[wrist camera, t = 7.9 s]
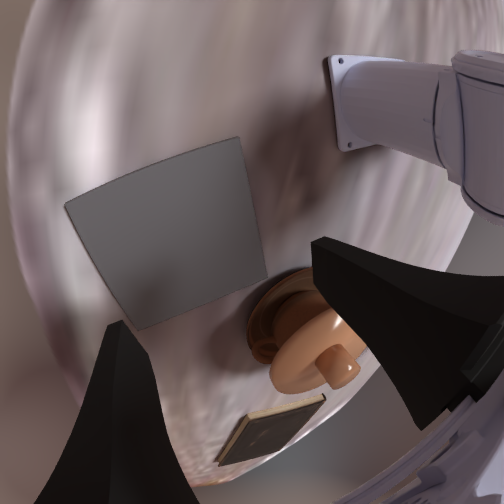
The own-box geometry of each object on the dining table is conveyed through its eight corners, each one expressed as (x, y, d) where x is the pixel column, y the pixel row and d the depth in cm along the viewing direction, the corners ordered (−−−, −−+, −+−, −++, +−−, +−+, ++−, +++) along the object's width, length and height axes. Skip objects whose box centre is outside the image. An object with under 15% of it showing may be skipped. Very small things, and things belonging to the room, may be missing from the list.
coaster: (237, 136, 17) (239, 137, 17) (265, 274, 24) (267, 277, 24) (65, 202, 14) (64, 204, 14) (137, 327, 21) (138, 331, 21)
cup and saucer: (264, 361, 31) (288, 401, 26) (218, 305, 24) (244, 358, 19) (346, 306, 32) (377, 339, 28) (329, 234, 25) (374, 269, 20)
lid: (347, 280, 19) (379, 309, 17) (381, 325, 26) (403, 346, 23) (243, 377, 20) (262, 413, 18) (306, 393, 27) (323, 417, 24)
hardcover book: (214, 458, 46) (218, 466, 45) (244, 410, 37) (249, 422, 36) (277, 442, 54) (281, 450, 52) (321, 391, 45) (328, 400, 43)
